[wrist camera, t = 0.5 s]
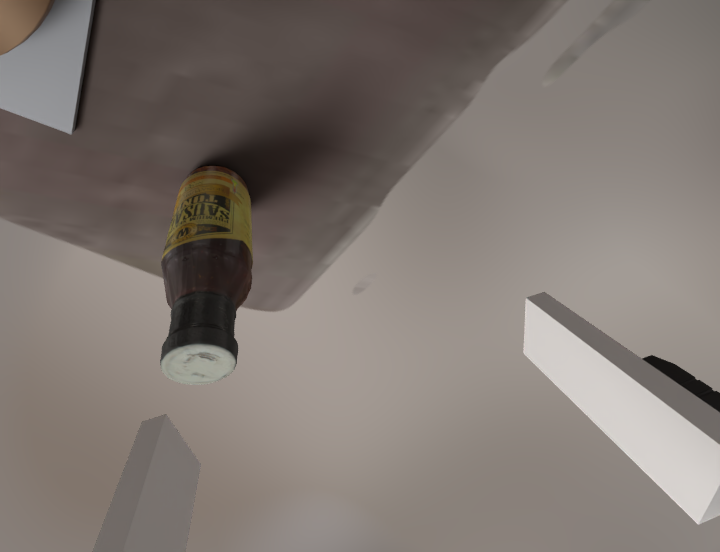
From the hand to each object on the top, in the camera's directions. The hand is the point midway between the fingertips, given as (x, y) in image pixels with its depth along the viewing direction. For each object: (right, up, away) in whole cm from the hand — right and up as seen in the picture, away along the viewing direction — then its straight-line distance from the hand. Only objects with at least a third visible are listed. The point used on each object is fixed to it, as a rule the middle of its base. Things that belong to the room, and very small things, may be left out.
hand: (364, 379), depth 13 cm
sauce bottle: (-14, +12, +21) cm, 28 cm away
